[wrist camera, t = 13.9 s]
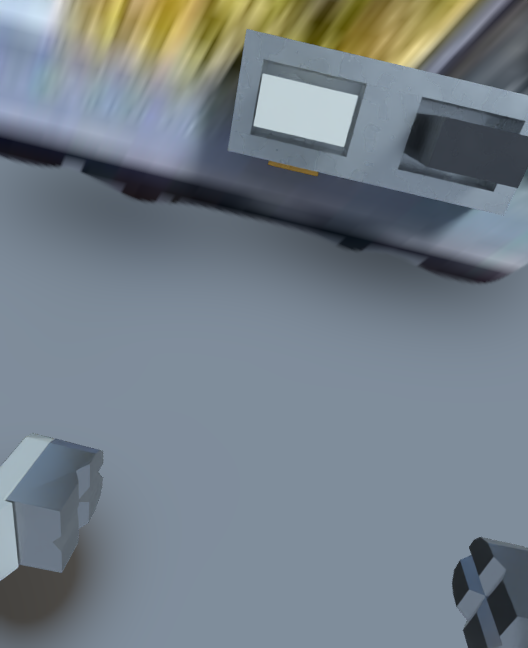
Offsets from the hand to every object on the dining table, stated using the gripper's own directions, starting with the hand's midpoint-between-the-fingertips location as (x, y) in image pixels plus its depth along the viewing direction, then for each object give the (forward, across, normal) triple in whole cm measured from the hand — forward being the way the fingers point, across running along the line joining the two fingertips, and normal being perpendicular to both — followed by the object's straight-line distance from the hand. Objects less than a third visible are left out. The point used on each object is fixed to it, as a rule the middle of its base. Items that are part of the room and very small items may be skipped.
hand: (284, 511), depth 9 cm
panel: (+33, +2, -7) cm, 34 cm away
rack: (+34, -4, -7) cm, 35 cm away
